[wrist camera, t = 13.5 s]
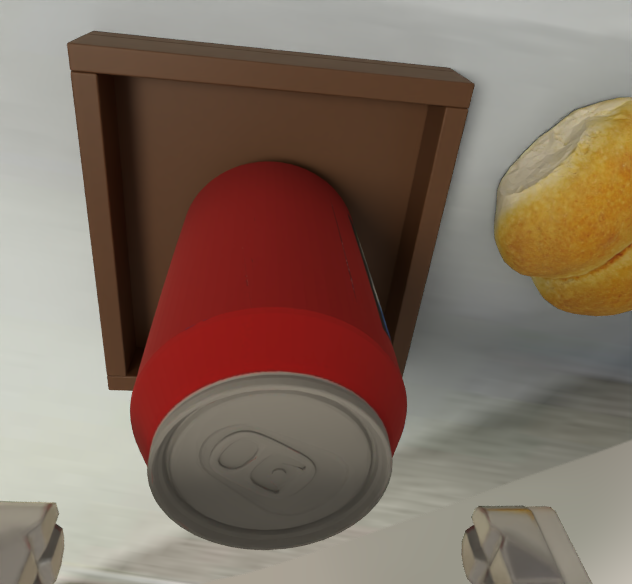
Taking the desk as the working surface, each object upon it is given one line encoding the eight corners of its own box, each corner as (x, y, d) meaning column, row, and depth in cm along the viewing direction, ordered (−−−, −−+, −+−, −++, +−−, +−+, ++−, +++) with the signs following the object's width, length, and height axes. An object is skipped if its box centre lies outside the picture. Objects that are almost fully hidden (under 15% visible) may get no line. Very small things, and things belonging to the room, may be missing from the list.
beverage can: (283, 329, 25) (294, 596, 14) (151, 247, 22) (53, 503, 12) (386, 222, 22) (487, 452, 12) (252, 115, 20) (237, 294, 9)
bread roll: (572, 319, 27) (616, 373, 23) (453, 210, 23) (485, 255, 20) (729, 197, 24) (806, 238, 20) (622, 50, 20) (694, 71, 17)
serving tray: (91, 30, 18) (66, 42, 16) (450, 67, 20) (475, 83, 18) (123, 349, 26) (108, 390, 23) (386, 359, 27) (397, 398, 25)
